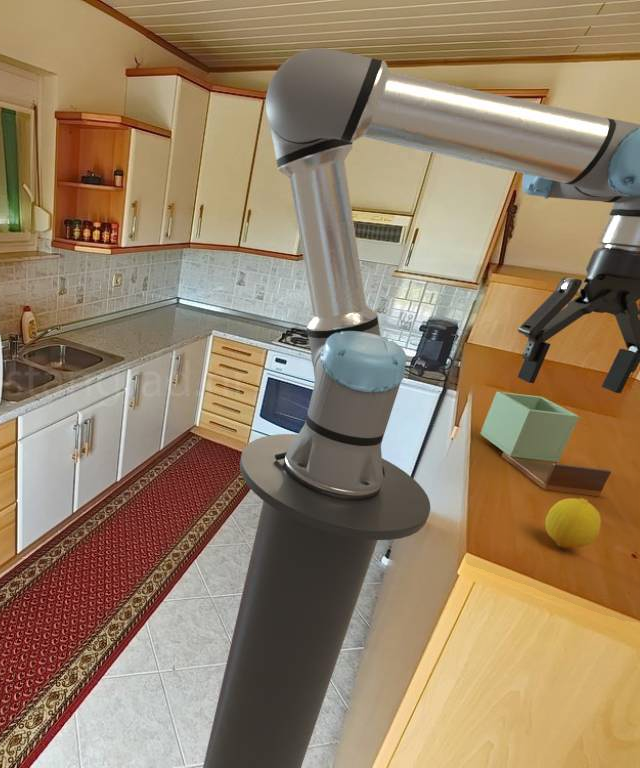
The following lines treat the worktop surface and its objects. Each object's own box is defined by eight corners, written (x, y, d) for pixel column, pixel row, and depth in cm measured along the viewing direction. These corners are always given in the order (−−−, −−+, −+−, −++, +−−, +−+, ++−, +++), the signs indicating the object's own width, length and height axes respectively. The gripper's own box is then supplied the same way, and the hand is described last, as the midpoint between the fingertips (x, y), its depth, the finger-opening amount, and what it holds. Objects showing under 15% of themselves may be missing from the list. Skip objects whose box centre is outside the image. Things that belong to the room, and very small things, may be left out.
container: (558, 462, 94) (579, 416, 90) (510, 456, 94) (529, 410, 91) (523, 439, 103) (541, 396, 100) (479, 433, 103) (496, 391, 100)
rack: (598, 496, 85) (611, 471, 83) (544, 489, 85) (555, 464, 83) (549, 462, 96) (559, 439, 94) (501, 456, 96) (510, 433, 95)
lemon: (533, 543, 70) (555, 496, 67) (540, 529, 73) (561, 483, 71) (583, 565, 66) (609, 516, 63) (587, 549, 70) (612, 502, 67)
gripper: (563, 242, 67) (505, 384, 75) (746, 262, 67) (669, 403, 75) (525, 238, 74) (475, 368, 82) (690, 256, 74) (625, 385, 82)
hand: (568, 385), depth 78 cm, fingers open, 13 cm apart
